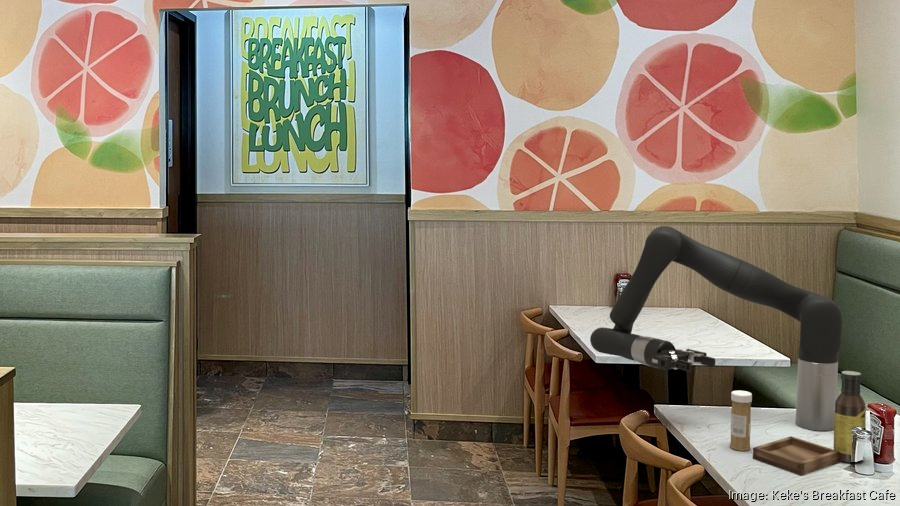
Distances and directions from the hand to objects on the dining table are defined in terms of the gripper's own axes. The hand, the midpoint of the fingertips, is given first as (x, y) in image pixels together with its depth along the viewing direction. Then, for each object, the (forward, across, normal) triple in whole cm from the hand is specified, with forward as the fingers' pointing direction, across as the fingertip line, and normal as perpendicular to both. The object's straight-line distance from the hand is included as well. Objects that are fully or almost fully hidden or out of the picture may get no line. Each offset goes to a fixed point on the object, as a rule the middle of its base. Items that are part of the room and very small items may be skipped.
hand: (702, 365), depth 189 cm
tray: (+23, +4, +17) cm, 29 cm away
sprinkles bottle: (+11, 0, +18) cm, 21 cm away
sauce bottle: (+29, +15, +18) cm, 37 cm away
